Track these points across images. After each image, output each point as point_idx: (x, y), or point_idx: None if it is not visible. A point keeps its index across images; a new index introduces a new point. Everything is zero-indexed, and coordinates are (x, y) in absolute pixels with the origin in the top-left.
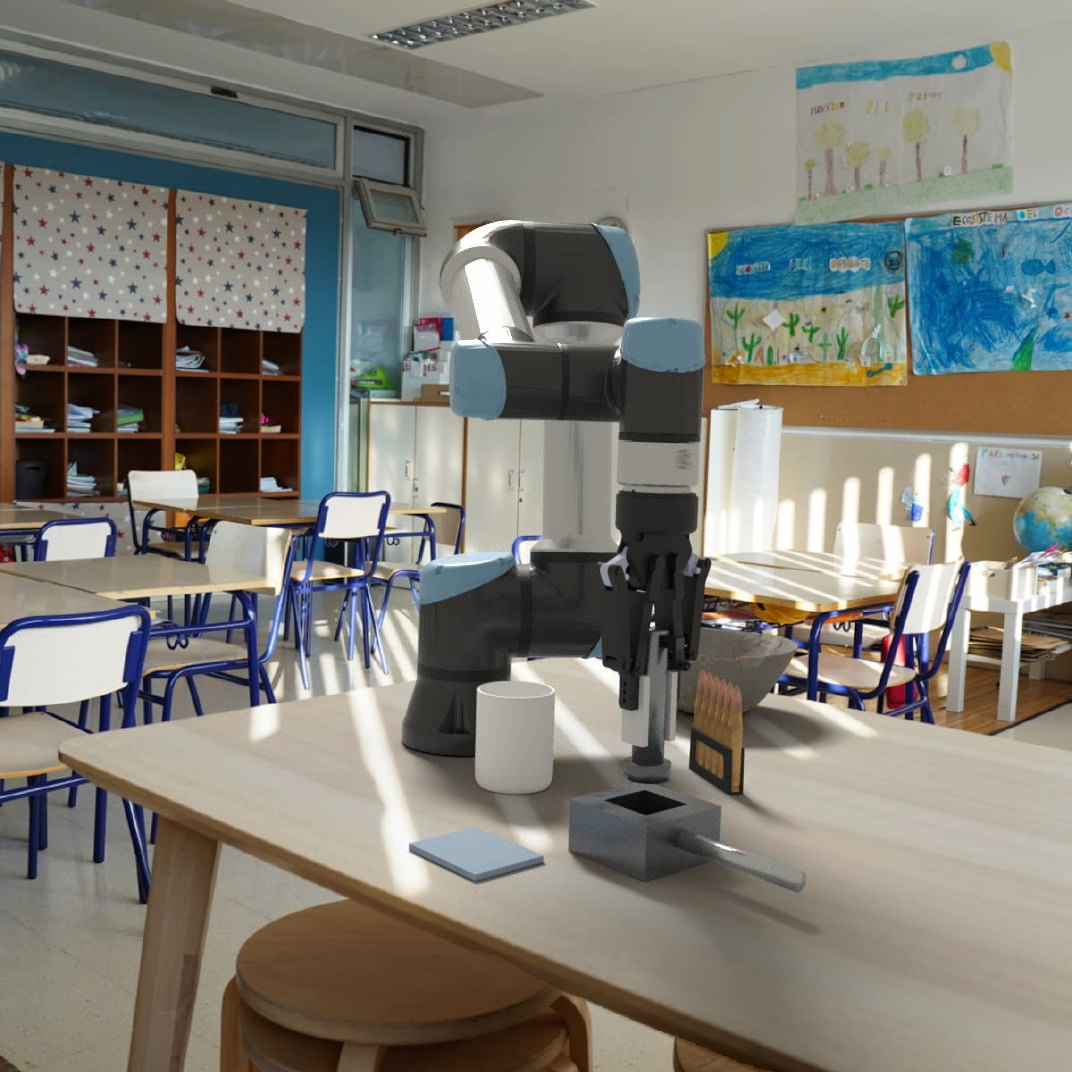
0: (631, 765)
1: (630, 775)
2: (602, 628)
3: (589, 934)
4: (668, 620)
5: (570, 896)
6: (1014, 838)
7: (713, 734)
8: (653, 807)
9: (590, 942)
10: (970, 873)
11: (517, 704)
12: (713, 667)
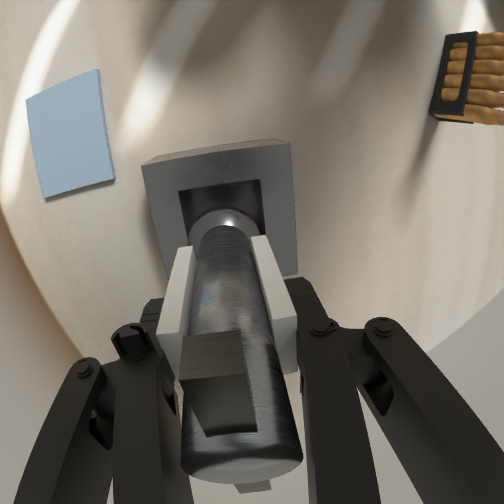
0: None
1: None
2: (37, 449)
3: (93, 317)
4: (309, 487)
5: (103, 259)
6: (467, 303)
7: (475, 74)
8: (259, 190)
9: (90, 326)
10: None
11: None
12: None
